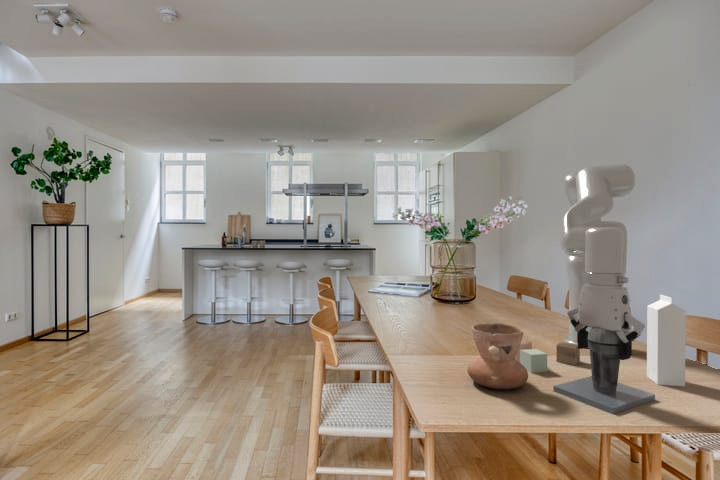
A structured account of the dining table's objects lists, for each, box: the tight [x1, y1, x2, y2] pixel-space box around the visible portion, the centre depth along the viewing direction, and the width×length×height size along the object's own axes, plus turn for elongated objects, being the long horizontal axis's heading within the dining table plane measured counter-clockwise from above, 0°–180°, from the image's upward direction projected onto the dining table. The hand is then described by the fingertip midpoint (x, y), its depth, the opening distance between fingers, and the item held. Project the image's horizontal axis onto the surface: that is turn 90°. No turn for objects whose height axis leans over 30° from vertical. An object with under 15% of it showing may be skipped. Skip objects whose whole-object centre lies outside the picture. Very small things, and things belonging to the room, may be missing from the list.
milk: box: [646, 293, 687, 388], centre depth 101 cm, size 6×6×22 cm
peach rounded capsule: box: [515, 339, 533, 363], centre depth 117 cm, size 6×6×6 cm
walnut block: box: [555, 341, 581, 366], centre depth 118 cm, size 5×5×5 cm
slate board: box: [552, 375, 656, 415], centre depth 93 cm, size 16×14×1 cm
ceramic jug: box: [466, 322, 529, 390], centre depth 100 cm, size 18×14×14 cm
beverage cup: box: [587, 327, 622, 395], centre depth 92 cm, size 7×7×20 cm
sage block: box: [520, 348, 548, 374], centre depth 111 cm, size 5×5×5 cm
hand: (603, 353), depth 93 cm, fingers open, 9 cm apart
